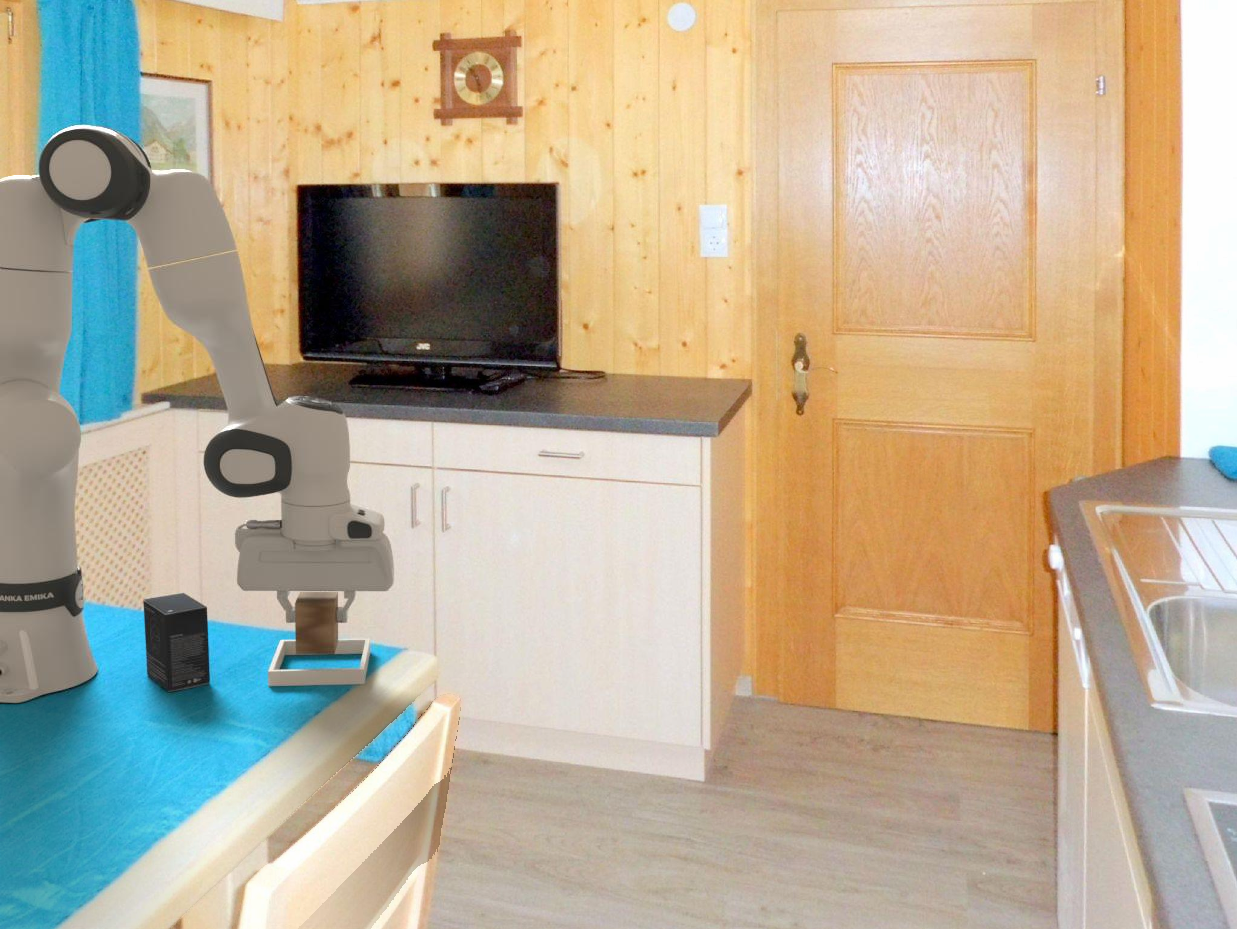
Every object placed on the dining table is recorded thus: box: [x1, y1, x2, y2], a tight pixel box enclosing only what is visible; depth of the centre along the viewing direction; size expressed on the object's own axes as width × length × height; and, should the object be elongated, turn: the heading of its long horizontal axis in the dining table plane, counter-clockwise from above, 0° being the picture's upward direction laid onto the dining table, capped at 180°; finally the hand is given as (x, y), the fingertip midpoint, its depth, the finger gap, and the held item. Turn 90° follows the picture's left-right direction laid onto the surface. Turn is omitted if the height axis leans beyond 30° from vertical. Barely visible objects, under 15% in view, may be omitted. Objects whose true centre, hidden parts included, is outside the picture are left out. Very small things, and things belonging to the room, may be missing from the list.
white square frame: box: [267, 637, 371, 687], centre depth 179 cm, size 12×12×2 cm
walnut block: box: [294, 591, 339, 655], centre depth 178 cm, size 5×5×7 cm
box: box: [143, 592, 211, 693], centre depth 173 cm, size 8×6×11 cm
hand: (317, 621), depth 178 cm, fingers closed on walnut block, 5 cm apart
